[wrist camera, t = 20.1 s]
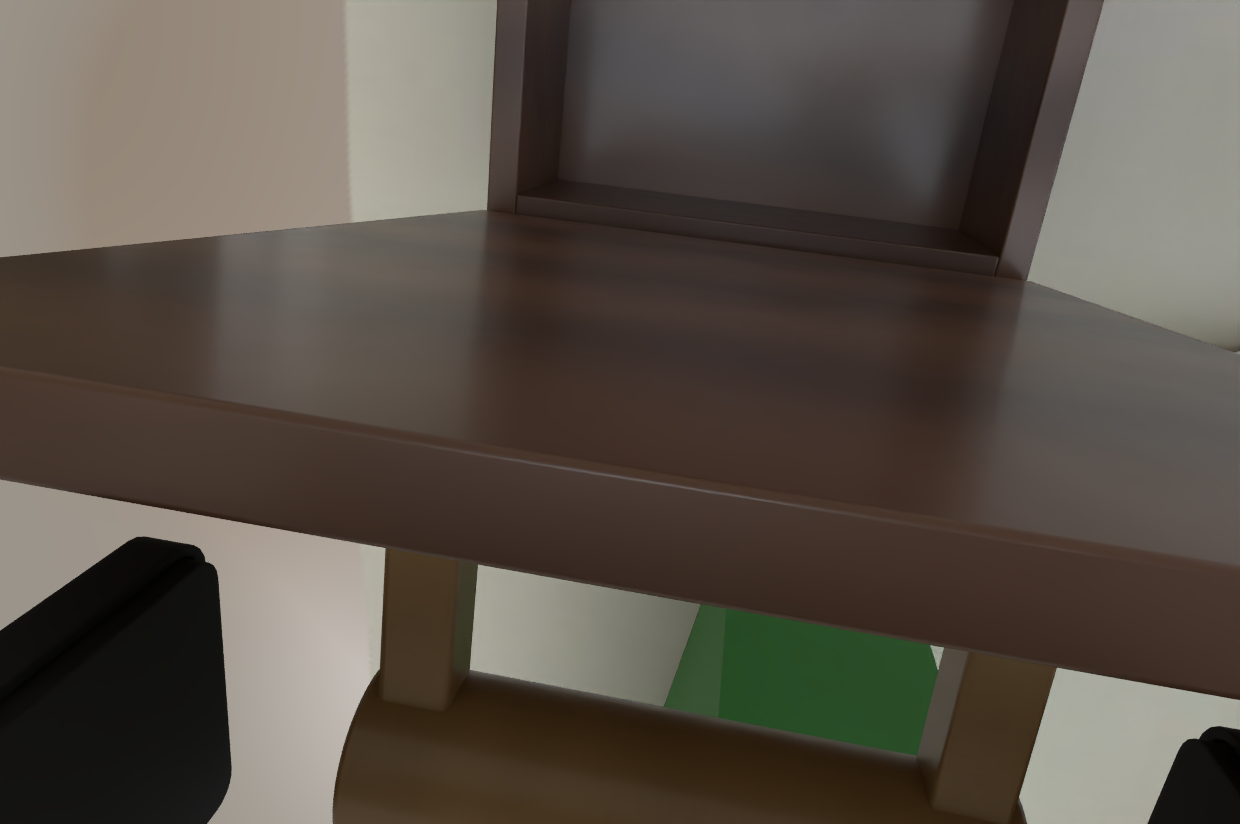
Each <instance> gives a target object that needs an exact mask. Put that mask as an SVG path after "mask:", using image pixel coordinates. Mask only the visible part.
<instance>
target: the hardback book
mask: <svg viewBox="0 0 1240 824" xmlns="http://www.w3.org/2000/svg"><path fill="white" fill-rule="evenodd" d="M937 674H938V669H937V666H936V663H935V660H934V656H933V653H932V650H931V647H930V645H928V644H922V643H917V642H911V641H906V640H900V639H894V638H889V637H883V636H877V635H872V634H866V633H861V632H855V631H849V630H844V629H838V628H832V627H827V626H821V625H816V624H810V623H804V622H799V621H793V620H788V619H782V618H776V617H771V616H765V615H759V614H754V613H748V612H743V611H737V610H731V609H726V608H720V607H714V606H709V605H703V604H701V606H700V609H699V612H698V614H697V617H696V620H695V623H694V625H693V628H692V631H691V634H690V637H689V639H688V642H687V645H686V648H685V650H684V653H683V656H682V659H681V661H680V664H679V667H678V670H677V672H676V675H675V678H674V681H673V683H672V686H671V689H670V692H669V694H668V697H667V700H666V703H665V705H664V707H665V708H671V709H676V710H681V711H686V712H691V713H697V714H702V715H707V716H712V717H717V718H723V719H728V720H733V721H738V722H743V723H749V724H754V725H759V726H764V727H769V728H775V729H780V730H785V731H790V732H796V733H801V734H806V735H811V736H816V737H822V738H827V739H832V740H837V741H842V742H848V743H853V744H858V745H863V746H868V747H874V748H879V749H884V750H889V751H894V752H900V753H905V754H910V755H915V756H917V754H918V750H919V746H920V742H921V738H922V734H923V730H924V726H925V722H926V718H927V714H928V710H929V706H930V702H931V698H932V694H933V690H934V686H935V682H936V678H937Z"/></svg>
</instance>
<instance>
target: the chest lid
mask: <svg viewBox="0 0 1240 824" xmlns="http://www.w3.org/2000/svg"><path fill="white" fill-rule="evenodd" d="M0 479H1V480H7V481H12V482H18V483H24V484H29V485H35V486H41V487H46V488H52V489H57V490H63V491H68V492H74V493H80V494H85V495H91V496H97V497H102V498H108V499H113V500H119V501H125V502H130V503H136V504H141V505H147V506H153V507H158V508H164V509H170V510H175V511H181V512H186V513H193V514H198V515H204V516H209V517H214V518H220V519H226V520H231V521H237V522H243V523H248V524H254V525H259V526H265V527H271V528H276V529H282V530H288V531H294V532H299V533H304V534H310V535H316V536H321V537H327V538H333V539H339V540H344V541H350V542H356V543H361V544H366V545H372V546H377V547H383V548H386V551H385V573H384V594H383V615H382V637H381V658H380V669H379V670H378V672H377V673H376V675H375V676H374V677H373V679H372V681H371V682H370V684H369V686H368V687H367V689H366V691H365V693H364V695H363V697H362V699H361V701H360V703H359V705H358V708H357V710H356V713H355V715H354V717H353V720H352V722H351V725H350V728H349V731H348V734H347V737H346V740H345V743H344V747H343V751H342V754H341V758H340V762H339V767H338V771H337V777H336V782H335V790H334V798H333V824H1027V822H1026V818H1025V814H1024V811H1023V807H1022V804H1021V802H1020V799H1019V795H1020V791H1021V788H1022V785H1023V781H1024V778H1025V774H1026V771H1027V768H1028V764H1029V761H1030V757H1031V754H1032V751H1033V747H1034V744H1035V740H1036V737H1037V733H1038V730H1039V727H1040V723H1041V720H1042V716H1043V713H1044V710H1045V706H1046V703H1047V699H1048V696H1049V693H1050V689H1051V686H1052V682H1053V679H1054V676H1055V672H1056V669H1057V668H1063V669H1068V670H1074V671H1080V672H1085V673H1091V674H1097V675H1102V676H1108V677H1113V678H1119V679H1125V680H1130V681H1136V682H1141V683H1147V684H1153V685H1158V686H1164V687H1170V688H1175V689H1181V690H1186V691H1192V692H1198V693H1203V694H1209V695H1215V696H1220V697H1226V698H1231V699H1237V700H1240V354H1237V353H1234V352H1231V351H1228V350H1225V349H1223V348H1220V347H1217V346H1214V345H1211V344H1208V343H1205V342H1202V341H1200V340H1197V339H1194V338H1191V337H1188V336H1185V335H1182V334H1180V333H1177V332H1174V331H1171V330H1168V329H1165V328H1162V327H1160V326H1157V325H1154V324H1151V323H1148V322H1145V321H1142V320H1140V319H1137V318H1134V317H1131V316H1128V315H1125V314H1122V313H1120V312H1117V311H1114V310H1111V309H1108V308H1105V307H1102V306H1100V305H1097V304H1094V303H1091V302H1088V301H1085V300H1082V299H1080V298H1077V297H1074V296H1071V295H1068V294H1065V293H1062V292H1060V291H1057V290H1054V289H1051V288H1048V287H1045V286H1042V285H1040V284H1037V283H1034V282H1031V281H1024V280H1016V279H1009V278H1001V277H994V276H986V275H978V274H971V273H963V272H955V271H948V270H940V269H932V268H925V267H917V266H909V265H902V264H894V263H886V262H879V261H871V260H863V259H856V258H848V257H841V256H833V255H825V254H818V253H810V252H802V251H795V250H787V249H779V248H772V247H764V246H756V245H749V244H741V243H733V242H726V241H718V240H710V239H703V238H695V237H688V236H680V235H672V234H665V233H657V232H649V231H642V230H634V229H626V228H619V227H611V226H603V225H596V224H588V223H580V222H573V221H565V220H557V219H550V218H542V217H534V216H527V215H519V214H512V213H504V212H496V211H489V210H478V211H468V212H458V213H447V214H437V215H427V216H417V217H407V218H397V219H386V220H376V221H366V222H356V223H346V224H336V225H326V226H316V227H306V228H295V229H286V230H275V231H265V232H255V233H244V234H234V235H224V236H214V237H204V238H194V239H183V240H173V241H163V242H153V243H143V244H133V245H122V246H112V247H102V248H92V249H82V250H71V251H62V252H52V253H41V254H31V255H21V256H11V257H0ZM478 564H479V565H484V566H490V567H495V568H501V569H507V570H512V571H518V572H523V573H529V574H535V575H540V576H546V577H552V578H557V579H563V580H568V581H574V582H580V583H585V584H591V585H596V586H602V587H608V588H613V589H619V590H625V591H630V592H636V593H641V594H647V595H653V596H658V597H664V598H670V599H675V600H681V601H686V602H692V603H698V604H703V605H709V606H714V607H720V608H726V609H731V610H737V611H743V612H748V613H754V614H759V615H765V616H771V617H776V618H782V619H788V620H793V621H799V622H804V623H810V624H816V625H821V626H827V627H832V628H838V629H844V630H849V631H855V632H861V633H866V634H872V635H877V636H883V637H889V638H894V639H900V640H906V641H911V642H917V643H922V644H928V645H934V646H939V647H944V650H943V654H942V658H941V662H940V666H939V670H938V674H937V678H936V682H935V686H934V690H933V694H932V698H931V702H930V706H929V710H928V714H927V718H926V722H925V726H924V730H923V734H922V738H921V742H920V746H919V750H918V754H917V756H915V755H910V754H905V753H900V752H894V751H889V750H884V749H879V748H874V747H868V746H863V745H858V744H853V743H848V742H842V741H837V740H832V739H827V738H822V737H816V736H811V735H806V734H801V733H796V732H790V731H785V730H780V729H775V728H769V727H764V726H759V725H754V724H749V723H743V722H738V721H733V720H728V719H723V718H717V717H712V716H707V715H702V714H697V713H691V712H686V711H681V710H676V709H671V708H665V707H660V706H655V705H650V704H645V703H639V702H634V701H629V700H624V699H619V698H613V697H608V696H603V695H598V694H593V693H587V692H582V691H577V690H572V689H567V688H561V687H556V686H551V685H546V684H541V683H535V682H530V681H525V680H520V679H515V678H509V677H504V676H499V675H494V674H489V673H483V672H478V671H473V670H470V657H471V645H472V632H473V620H474V607H475V594H476V582H477V569H478Z"/></svg>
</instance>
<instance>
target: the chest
mask: <svg viewBox="0 0 1240 824" xmlns="http://www.w3.org/2000/svg"><path fill="white" fill-rule="evenodd" d="M1103 3H1104V0H497V17H496V38H495V59H494V79H493V100H492V121H491V141H490V162H489V183H488V203H487V210H489V211H496V212H504V213H512V214H519V215H527V216H534V217H542V218H550V219H557V220H565V221H573V222H580V223H588V224H596V225H603V226H611V227H619V228H626V229H634V230H642V231H649V232H657V233H665V234H672V235H680V236H688V237H695V238H703V239H710V240H718V241H726V242H733V243H741V244H749V245H756V246H764V247H772V248H779V249H787V250H795V251H802V252H810V253H818V254H825V255H833V256H841V257H848V258H856V259H863V260H871V261H879V262H886V263H894V264H902V265H909V266H917V267H925V268H932V269H940V270H948V271H955V272H963V273H971V274H978V275H986V276H994V277H1001V278H1009V279H1016V280H1024V281H1027V277H1028V273H1029V270H1030V266H1031V262H1032V259H1033V255H1034V252H1035V248H1036V244H1037V241H1038V237H1039V234H1040V230H1041V226H1042V223H1043V219H1044V216H1045V212H1046V208H1047V205H1048V201H1049V197H1050V194H1051V190H1052V187H1053V183H1054V179H1055V176H1056V172H1057V169H1058V165H1059V161H1060V158H1061V154H1062V151H1063V147H1064V143H1065V140H1066V136H1067V133H1068V129H1069V125H1070V122H1071V118H1072V114H1073V111H1074V107H1075V104H1076V100H1077V96H1078V93H1079V89H1080V86H1081V82H1082V78H1083V75H1084V71H1085V68H1086V64H1087V60H1088V57H1089V53H1090V50H1091V46H1092V42H1093V39H1094V35H1095V31H1096V28H1097V24H1098V21H1099V17H1100V13H1101V10H1102V6H1103Z"/></svg>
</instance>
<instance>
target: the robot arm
mask: <svg viewBox="0 0 1240 824" xmlns="http://www.w3.org/2000/svg"><path fill="white" fill-rule="evenodd" d="M221 627H222V626H221V612H220V599H219V584H218V575H217V570H216V569H215V567H214V566H213V565H212V564H210V563H207V562H205V557H204V555H203V553H202V552H201V550H200V548H198V547H196V546H194V545H190V544H183V543H178V542H172V541H167V540H161V539H155V538H150V537H136V538H134V539H132V540H130V541H128V542H126V543H125V544H123V545H122V546H121V547H119V548H118V549H116V550H115V551H113V552H112V553H111V554H109V555H108V556H106V557H105V558H103V559H102V560H101V561H99V562H98V563H96V564H95V565H93V566H92V567H91V568H89V569H88V570H86V571H85V572H83V573H82V574H81V575H79V576H78V577H76V578H75V579H73V580H72V581H71V582H69V583H68V584H66V585H65V586H63V587H62V588H61V589H59V590H58V591H56V592H55V593H53V594H52V595H51V596H49V597H48V598H46V599H45V600H43V601H42V602H41V603H39V604H38V605H36V606H35V607H33V608H32V609H31V610H29V611H28V612H26V613H25V614H23V615H22V616H21V617H19V618H18V619H17V620H15V621H14V622H12V623H11V624H9V625H8V626H6V627H5V628H3V629H2V630H1V631H0V824H207V823H208V822H209V820H210V819H211V818H212V816H213V815H214V814H215V812H216V811H217V810H218V808H219V806H220V805H221V803H222V801H223V799H224V797H225V795H226V793H227V790H228V787H229V784H230V779H231V753H230V739H229V725H228V711H227V697H226V683H225V668H224V654H223V640H222V628H221ZM1148 824H1240V730H1238V729H1232V728H1227V727H1221V726H1217V727H1210V728H1209V729H1208V730H1206V731H1205V732H1204V733H1202V735H1201V737H1200V738H1199V739H1188V740H1187V741H1186V742H1184V743H1183V744H1182V746H1181V747H1180V749H1179V751H1178V753H1177V755H1176V758H1175V760H1174V762H1173V765H1172V767H1171V770H1170V772H1169V774H1168V777H1167V779H1166V781H1165V784H1164V786H1163V788H1162V791H1161V793H1160V796H1159V798H1158V800H1157V803H1156V805H1155V807H1154V810H1153V812H1152V814H1151V817H1150V819H1149V822H1148Z"/></svg>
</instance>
